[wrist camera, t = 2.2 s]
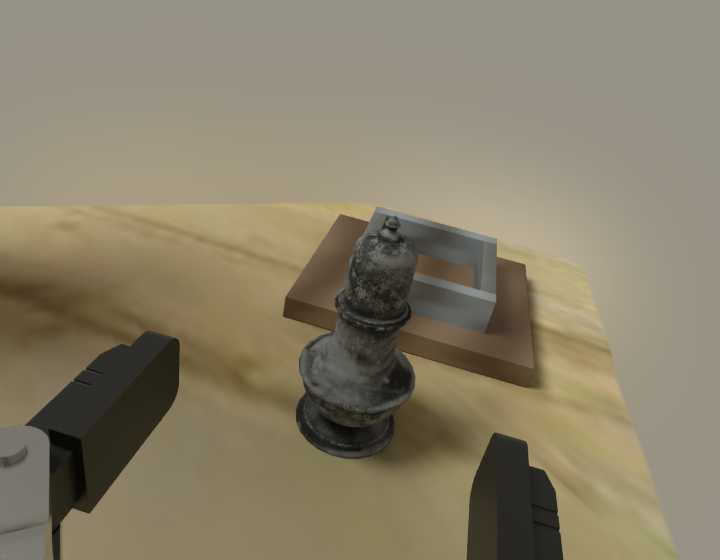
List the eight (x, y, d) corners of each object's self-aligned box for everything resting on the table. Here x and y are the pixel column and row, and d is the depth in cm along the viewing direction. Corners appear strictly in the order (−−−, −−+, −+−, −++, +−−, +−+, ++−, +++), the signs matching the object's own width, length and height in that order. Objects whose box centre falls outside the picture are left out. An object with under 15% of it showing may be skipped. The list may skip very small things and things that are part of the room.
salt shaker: (283, 381, 31) (314, 181, 24) (382, 378, 32) (434, 191, 26) (299, 468, 26) (343, 248, 20) (414, 458, 28) (487, 254, 22)
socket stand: (282, 316, 36) (290, 263, 34) (337, 229, 48) (345, 187, 46) (525, 387, 34) (549, 337, 32) (519, 279, 46) (536, 238, 44)
